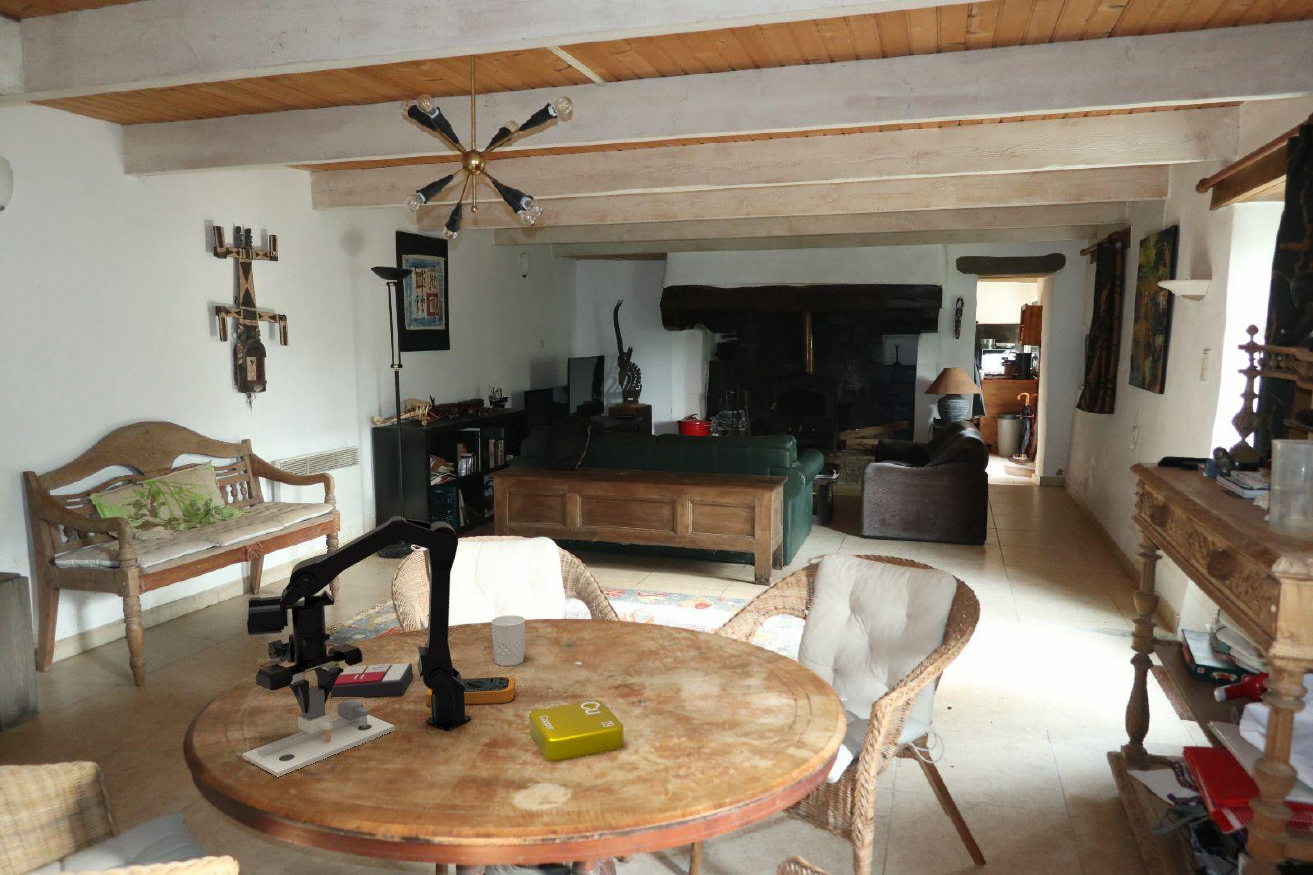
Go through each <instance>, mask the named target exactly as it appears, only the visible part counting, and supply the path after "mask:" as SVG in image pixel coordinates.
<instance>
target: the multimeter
mask: <svg viewBox="0 0 1313 875" xmlns="http://www.w3.org/2000/svg"><path fill="white" fill-rule="evenodd" d="M462 680H463V683H464V686H465V690H464V697H465V705H482V704H483V705H485V704H486V705H487V704H488V705H490V704H504V703H509V702H511V701H512V700H513V699H514V697H515V693H516V692H515V691H516V680H515V678H513V676H512V677H511V676H505V675H504V676H490V677H489V676H488V677H487V676H486V677H475V678H474V677H473V678H472V677H471V678H462ZM431 696H432V691H431V689H429V688H428V687H427V690H426V692H425V701H426V705H427V706H428V707H430V708H431Z"/></svg>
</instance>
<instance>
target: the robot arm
mask: <svg viewBox="0 0 1313 875" xmlns="http://www.w3.org/2000/svg"><path fill="white" fill-rule="evenodd" d="M398 541H401V542H405V543H408V544H412V545H415V546H417V547H420V548H424V549H426V553H427V558H428V563H429V564H428V565H429V594H428V595H429V598H428V622H427V624H428V626H427V627H428V628H427V639H426V643H425V646H417V650H418V657H419V658H418V662H417V664H416V666H417V670H418V675H419V677H420V678H422V681H423V683H424V686H425V687H426V688H427V689H428V688H429V689H431V691H432V696H431V707H430V709H431V710H430V711H431V717H429V718H426V720H425V722H426V723H427V724H429V725H432V726H434V727H436V728H439V729H442V730H444V731H448V730H451V729H453V728H455V727H458V726H461V725H463V724H465V723H467V722H469V721H472V716H470V715H466V706H465V697H464V690H465V686H464V683H463V680H462V679H463V678H462V675H461V673H460V671H458V670H457V669H456V668H454V667H453V661H452V656H451V651H450V646H449V645H450V644H449V628H450V627H449V626H450V624H449V623H450V618H449V617H450V599H451V598H450V596H451V595H450V594H451V593H450V592H451V572H452V568H453V566H454V562H455V560H456V555H457V550H458V546H459V536H458V534H457V533H456V531H455V530H454V528H453V527H452V525H451V524H449V523H447V522H445V521H441V520H440V521H435V522H433V523H431V522H426V521H424V520H417V519H411V518H405V517H403V516H400V515H395V516H391V518H389V519H388V520H387V521H385V522H384V523H382V524H380V525H379V526H377V527H375V528H373V529H372V530H368V531H367V532H366V533H364V534H362V535H360V536H359V537H356V538H355V539H353V540H351V541H349V542H348V543H346V544H344V545H342V546H340V547H339V548H337V549H335V550H332V551H330V552H326V553H322V554H318V555H315V556H312V557H310V558H306V559H304V560H302V561H299V562H297V563H296V564H295V565H294V566H293V568H292V570H291V572H290V576H289V577H290V578H289V581H288V584H287V585H286V586H285V588H283V589H282V592H281V595H277V596H276V595H275V596H266V597H259V596H258V597H256V596H254V597H250V598H249V600H248V610H247V611H248V613H247V617H248V618H247V619H246V620H247V621H246V622H247V624H246V625H247V633H248V634H247V635H248V637H251V636H261V635H273V634H279V633H283V630H285V627H287V628H288V627H289V625H290V624H289V622H290V618H289V617H290V616H289V610H291V621H292V633H290V634H289V635H288V642H286V643H285V642H284V643H283V641H282V640H281V639H278V640H274V641H271V642H268V644H267V645H268V646H267V648H268V649H267V651H268V657H269V658H270V660H274V659H278V660H279V663H281V662H284V661H285V662H286V660H287V663H290V664H291V663H292V664H294V665H290V666H287V667H286V666H283V665H281V664H278V663H274V664H272V665H269V666H265V667H262V668H259V669H258V670H257V672H256V674H255V681H256V685H257V686H259V687H262V688H263V689H267V690H269V691H276V690H281V689H284V688H287V687H289V689H290V690H291V691H292V693H293V695H294V697H295V699H296V701H297V703H298V705H299V708H300V710H301V713H302V712H303V713H305V714H306V713H307V712H308V706H309V688H310V680H308V679H305V673H308V672H312V671H314V672H315V675H316V677H317V687H320V688H322V689H324V697H325V704H326V703H327V701H328V698H329V697H330V695H331V690H332V687H333V685H334V684H335V682H336V680H337V678H338V676H339V675H340V674H341V673H343V672H344V669H345V668H344V669H343V668H342V667H340V662H343V661H344V664H346V665H347V666H348V667H353V666H354V665H358V664H361V663H363V661H364V658H363V651H362V650H361V648H360V647H358V646H355V645H353V644H349V643H346V642H345V643H342V644H338V645H336V646H332V647H330V648H329V649H327V647H328V646H327V641H328V640H329V641H330V639H331V634H330V633H328V632H327V631H326V613H325V612H326V609H325V608H326V607H327V606H333V605H335V603H336V602H335V600H336V598H335V596H333V595H331V594H330V593H329V592H328V590H327V589H325V590H323V589H324V588H325V587H327V586H328V585H329V584H331V582H333V580H335V579H336V578H337V577H338V576H339V575H340V574H341V573H343V571H345V570H348V568H351V567H352V566H355V565H356V564H358V563H360V562H362V561H364V560H365V559H367V558H369V557H370V556H372V555H374V554H375V553H377V552H380V551H381V550H384V549H385V548H388V546H390V545H392V544H394V543H395V542H398ZM322 590H323V591H322ZM320 591H322V593H320V594H318V593H319V592H320ZM316 594H317V595H316ZM327 650H328V651H327Z"/></svg>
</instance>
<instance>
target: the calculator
mask: <svg viewBox="0 0 1313 875" xmlns="http://www.w3.org/2000/svg"><path fill="white" fill-rule="evenodd" d="M413 680H414V674H413V664H412V663H410V662H407V663H406V662H405V663H394V664H391V663H383V664H382V663H379V664H370V665H356V666H354V665H353V666H345V668H344V672H343V673H340V675H339V676H338V678H337V680H336V682H335V684H334V685H333V687H332V690H331V692H330V697H331V696H332V697H365V698H373V697H374V698H375V697H376V698H377V697H381V698H400V697H403V696H404V695H405V694H406V691H408V688H409V686H410V684H412V681H413Z"/></svg>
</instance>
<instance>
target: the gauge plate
mask: <svg viewBox="0 0 1313 875" xmlns="http://www.w3.org/2000/svg"><path fill="white" fill-rule="evenodd" d="M337 716H338V717H337V718H335V719H333V720H332V719H331V720H329V722H330V723H331V724H333V728H332V729H330V733H331V740H329V741H325V729H323V730H320V731H318V732H315V733H312V734H309V733H307V732H304V731H302V730H301V732H297V733H294V734H292V735H289V736H287V737H283V738H281V739H278V740H276V741H274V742H270V743H268V744H265V745H262V746H259V747H257V748H254V749H251V750H248V751H246V752H244V753H241V756H242V757H244V758H246V759H247V760H250V761H251V762H252V763H255V764H256V765H258V766H260V767H261V768H263V769H265V770H267V771H268V772H270V773H272V774H274V775H276V776H277V777H279V776H280V775H283V774H286V773H289V772H291V771H294V770H295V769H299V770H301V769H300V768H302V767H304V766H306V765H309V766H311V765H310V764H312V765H314V764H315V762H316V761H319V760H321V761H324V760H326V759H328V758H327V757H329V756H331V755H334V754H336V755H338V754H337V753H339V752H341V751H344V752H346V751H348V750H347V749H349V750H351V749H353V748H352V747H354V746H356V747H358V745H359V746H360V745H361V746H362V745H363V744H366V743H368V742H370V740H371V741H373V740H376V739H377V738H376V737H378V738H380V736H381V737H383V736H385V735H384V734H386V735H387V733H388V734H390V733H389V732H391V733H393V732H395V731H396V725H395V724H392V723H389V722H387V721H384V720H382V719H379V718H378V717H376V716H375V717H374V716H372V715H370V710H369V709H367V708H364V704H363V702H359V701H357V700H354V699H353V698H349V699H348V700H345V701H342V702H339V703H337ZM382 735H383V736H382ZM375 738H376V739H375ZM365 742H366V743H365ZM362 743H363V744H362ZM350 748H351V749H350ZM354 748H355V747H354ZM345 750H346V751H345ZM341 753H342V752H341ZM339 754H340V753H339ZM334 756H335V755H334ZM242 757H241V758H242ZM331 757H332V756H331ZM325 758H326V759H325ZM329 758H330V757H329ZM323 759H324V760H323ZM319 762H320V761H319ZM313 763H314V764H313ZM316 763H317V762H316ZM304 768H305V767H304ZM302 769H303V768H302ZM294 772H295V771H294ZM289 774H290V773H289ZM279 778H280V777H279Z"/></svg>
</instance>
